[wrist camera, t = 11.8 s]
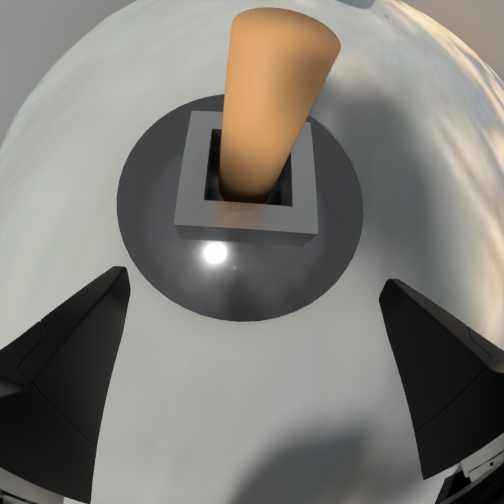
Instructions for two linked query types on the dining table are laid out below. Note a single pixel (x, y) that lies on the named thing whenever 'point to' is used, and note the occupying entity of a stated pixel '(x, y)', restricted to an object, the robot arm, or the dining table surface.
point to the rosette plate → (236, 219)
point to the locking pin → (269, 96)
